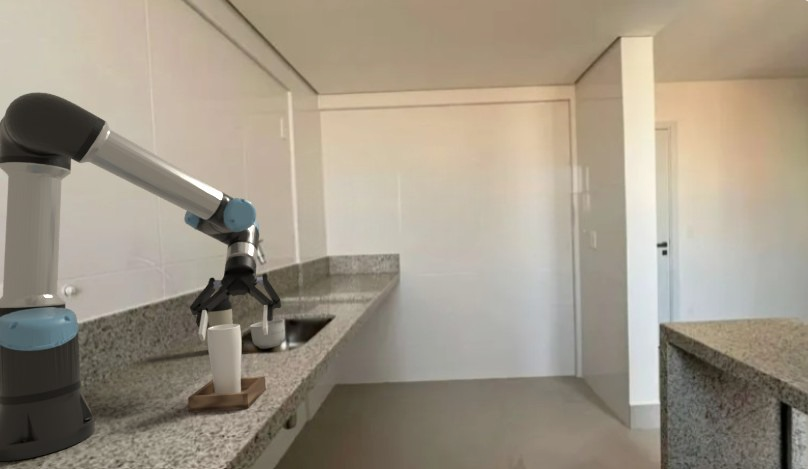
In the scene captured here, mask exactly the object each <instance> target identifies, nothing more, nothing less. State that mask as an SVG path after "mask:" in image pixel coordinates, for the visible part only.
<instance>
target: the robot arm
mask: <svg viewBox="0 0 808 469" xmlns="http://www.w3.org/2000/svg"><path fill="white" fill-rule="evenodd" d="M72 160H73V161H75V162H77V163H79V164H83V163H91V164H93V165H94V166H96V167H98V168H101V169H103V170H104V171H107V172H109V173H111V174H112V175H115V176H117V177H119V178H120V179H122V180H125V181H126V182H129V183H131V184H133V185H135V186H136V187H138V188H140V189H143V190H145V191H147V192H149V193H151V194H152V195H155V196H157V197H159V198H160V199H163V200H164V201H167V202H168V203H171V204H173V205H175V206H177V207H178V208H181V209H183V210H185V211H186V212H185V213H184V218H183V221H184V223H185V224H186V225H188V226H190V227H191V228H193V229H194V230H195V231H198V232H200V233H203V234H204V235H206V236H208V237H211V238H213V239H215V240H217V241H219V242H220V243H223V244H224V245H226V246H227V252H226V258H225V264H224V270H223V271H224V272H223V277H222V279H215V278H214V277H210V278H209V279H208V282H207V284H206V286H205V288H203V290H202V291H201V292H200V294H199V295H198V296H197V297H196V298H195V299H194V301H193V302H192V303H191V304H190V306H189V310H190V311H191V314H192V315H193V316H196V320H195V323H196V325H197V328H199V329H198V334H197V335H198V337H199V340H200V341H201V342H204V341H205V340H206V336H207V323H208V315H207V313H209V312H210V311H211V310H212V309H213V308H214V307H215V306H217V305H218V304H219V303H220V302H221V301H222V300H224V299H226V298H228V297H229V298H230V296H232V297H235V296H239V295H240V296H246V295H247V294H249V295H250V296H251V297H252V298H254V299H255V300H257V301H258V302H259V303H260V304H261V305H262V306H263V315H262V322H263V332H264V335H268V321H272V320H274V311H275V309H281V308H282V301H281V298H280V296H279V294H278V293H277V292H276V290H275V289H274V287H273V286H272V285H271V282H270V281H269V278H268V274H267V273H264V274H262V276H258V277H257V276H256V275H257V263H258V250H259V249H258V248H259V239H260V226H259V223H258V221H257V211H256V208H255V205H254V204H253V203H252V202H251V201H249V200H248V199H245V198H242V197H241V198H239V197H238V198H237V197H235V198H233V197H232V196H230V195H228V194H227V193H225V192H223V191H220V190H219V189H217V188H215V187H214V186H211V185H209V184H208V183H206V182H204V181H203V180H201V179H199V178H197V177H196V176H194V175H192V174H190V173H188V172H186V171H185V170H183V169H182V168H180V167H177V165H174V164H173V163H171V162H168V161H167V160H165V159H163V158H162V157H160V156H159V155H156V154H155V153H152V152H151V151H149V150H147V149H145V148H143V147H142V146H140V145H138V144H137V143H135V142H133V141H131V140H129V139H127V138H126V137H124V136H122V135H120V134H119V133H117V132H116V131H114V130H112V129H111V128H110V127H109V124H108V121H106V120H105V119H103V118H101V117H99V116H98V115H95V114H94V113H93V112H90V111H89V110H87V109H85V108H83V107H81V106H80V105H78V104H76V103H73V102H72V101H70V100H68V99H65V98H64V97H61V96H58V95H55V94H52V93H49V92H48V93H47V92H29V93H24V94H22V95H20V96H18V97H17V98H15V99H14V100H12V101H11V102H10V104H9V105H8V107H7V108H6V111H5V113H4V116H3V117H2V118H1V120H0V170H2V171H3V172H4V173H5V174H6V175H7V177H8V179H7V180H8V181H7V195H6V196H7V197H6V198H7V201H6V222H5V241H4V243H5V244H4V259H3V260H4V261H3V262H4V264H3V265H4V267H3V284H2V285H3V286H2V296H1V298H0V462H11V461H18V460H21V461H22V460H25V459H32V458H36V457H40V456H43V455H48V454H51V453H56V452H57V451H61V450H64V449H66V448H69V447H72V446H74V445H76V444H79V443H81V442H83V441H84V440H86V439H88V438H89V437H90V436H92V435H93V434H94V433H95V430H96V426H95V417H94V414H93V413H92V411H91V408H90V406H89V404H88V403H87V400H86V398H85V396H84V394H83V392H82V383H81V382H82V381H81V366H80V365H81V364H80V347H79V346H80V344H79V331H80V330H79V329H80V325H79V323H78V320H77V319H78V317H77V314H76V313H75V312H74V311H73V310H72V309H70V308H66V301H65V300H64V299H63V298H61V297H60V296H59V295H58V279H59V278H58V275H59V255H60V254H59V251H60V230H61V229H60V228H61V227H60V226H61V225H60V224H61V204H62V202H61V200H62V199H61V198H62V181H63V180H64V179H65V178H66V177H68V176H69V175H71V170H72V169H71V168H72ZM257 284H260V286H262V287H263V289H265V292H266V293H267V295H268V296H269V297H268V296H266V295H265V294H264V293H263V292H262V291H261V290H259V288H257V287H256V286H257ZM216 290H217V291H216ZM215 291H216V292H215ZM212 295H213V296H212Z"/></svg>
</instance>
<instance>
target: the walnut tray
mask: <svg viewBox="0 0 808 469" xmlns="http://www.w3.org/2000/svg"><path fill="white" fill-rule="evenodd" d="M266 386H267V385H266V376H264V375H263V376H251V377H250V376H249V377H241V392H240V393H225V394H214V384H213V379H211V380H210V381H209V382H207V383H206V384H204V385H203V386H201V387H200V388H199V389H198V390H196V391H195V392H193V393H192V394H190V396H188V397H187V402H188V413H197V412H198V413H199V412H213V411H214V412H215V411H216V412H217V411H227V410H228V411H230V410H243V409H244V410H246V409H249V408H250V407H251V406H252V405H253V404H254V403H255V402H256V401H257V400H258V399H259V398H260V396H262V394H263V393H264V392H265V391H266V390H267V388H266Z"/></svg>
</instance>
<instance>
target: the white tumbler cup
mask: <svg viewBox="0 0 808 469" xmlns="http://www.w3.org/2000/svg"><path fill="white" fill-rule="evenodd" d="M207 339H208V344H207V352H208V351H209V352H208V356H209V362H210V368H211V369H210V370H211V375H212V380H213V384H214V394H225V393H240V392H241V378H242V343H243V342H242V330H241V325H240V324H239V323H233V324H225V325H218V326H213V327H210V328H208V329H206V340H207Z"/></svg>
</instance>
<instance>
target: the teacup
mask: <svg viewBox="0 0 808 469" xmlns="http://www.w3.org/2000/svg"><path fill="white" fill-rule="evenodd" d="M249 328H250V334H251V341H252V343H253V345H254V346H256V347H257V348H259V349H263V350H265V349H271V348H272V349H273V348H275V347H277V346H280V345H281V344H282V343H283V342H284V341H285V338H286V329H285V328H286V327H285V320H284V319H273V320H272V321H268V335H264V332H263V321H259V322H256V323H252V324H251V325H249Z"/></svg>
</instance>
